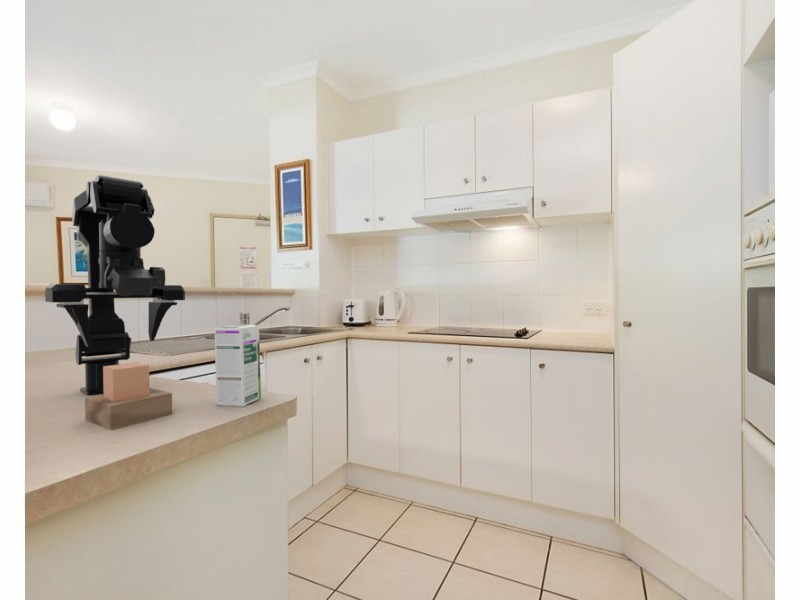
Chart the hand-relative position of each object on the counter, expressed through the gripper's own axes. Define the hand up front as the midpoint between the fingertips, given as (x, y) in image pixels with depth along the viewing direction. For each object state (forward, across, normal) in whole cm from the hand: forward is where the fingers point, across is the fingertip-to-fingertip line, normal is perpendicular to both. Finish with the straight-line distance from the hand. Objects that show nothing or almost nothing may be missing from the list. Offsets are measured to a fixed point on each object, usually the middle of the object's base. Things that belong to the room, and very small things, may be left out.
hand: (121, 343), depth 67 cm
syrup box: (+12, +16, -10) cm, 22 cm away
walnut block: (+12, 0, -4) cm, 13 cm away
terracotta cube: (+8, -1, -4) cm, 9 cm away
